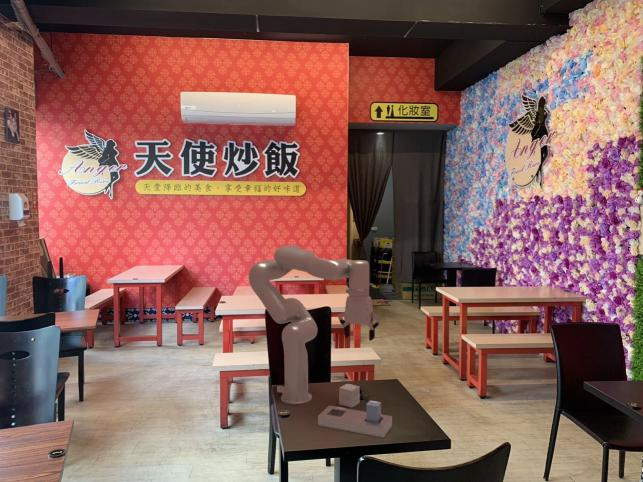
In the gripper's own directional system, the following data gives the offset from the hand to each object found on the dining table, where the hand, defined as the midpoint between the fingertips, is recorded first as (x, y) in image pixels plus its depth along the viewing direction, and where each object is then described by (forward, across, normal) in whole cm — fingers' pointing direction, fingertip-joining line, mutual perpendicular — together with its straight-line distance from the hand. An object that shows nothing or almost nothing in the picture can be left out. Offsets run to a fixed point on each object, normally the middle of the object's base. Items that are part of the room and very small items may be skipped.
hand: (359, 338), depth 177 cm
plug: (+28, +10, -13) cm, 32 cm away
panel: (+28, +3, -13) cm, 31 cm away
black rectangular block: (+29, -6, +14) cm, 33 cm away
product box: (+28, -6, +5) cm, 30 cm away
